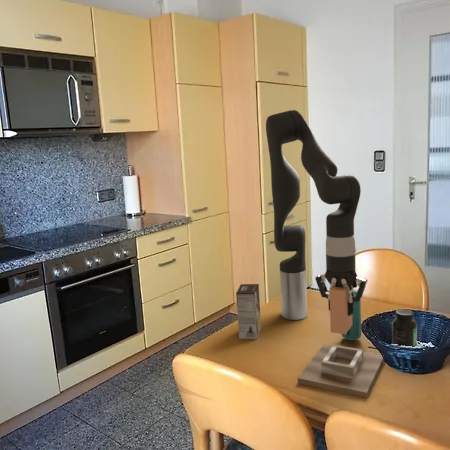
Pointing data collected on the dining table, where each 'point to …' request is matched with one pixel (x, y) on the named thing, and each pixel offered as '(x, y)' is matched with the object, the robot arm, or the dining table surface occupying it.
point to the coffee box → (248, 311)
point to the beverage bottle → (355, 319)
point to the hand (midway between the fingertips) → (341, 313)
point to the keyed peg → (339, 311)
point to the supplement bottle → (404, 328)
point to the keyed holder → (342, 370)
